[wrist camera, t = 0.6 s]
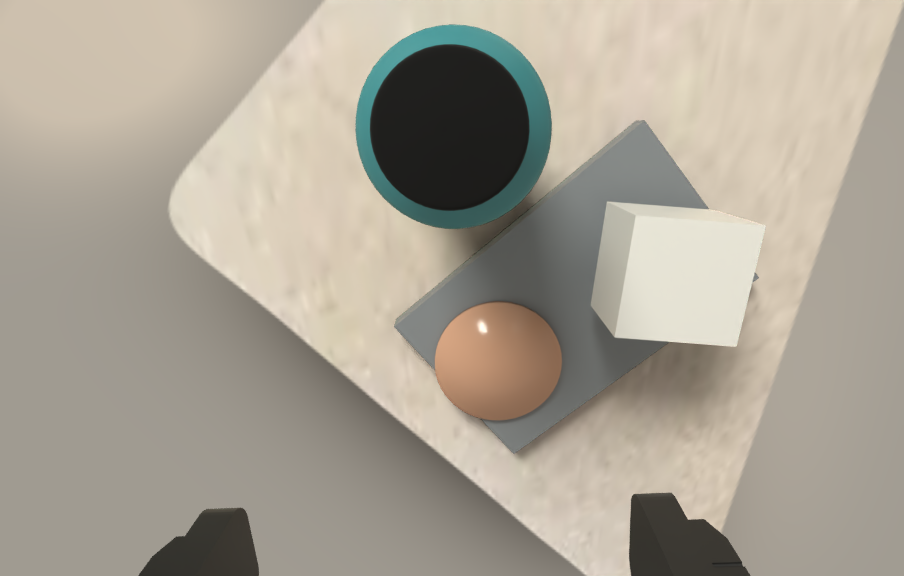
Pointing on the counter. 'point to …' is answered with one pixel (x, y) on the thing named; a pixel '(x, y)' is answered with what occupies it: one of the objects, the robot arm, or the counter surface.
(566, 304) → the post board
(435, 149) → the beverage bottle
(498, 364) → the tan flat disc
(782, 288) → the counter surface
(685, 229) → the off-white matte cube
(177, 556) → the robot arm
